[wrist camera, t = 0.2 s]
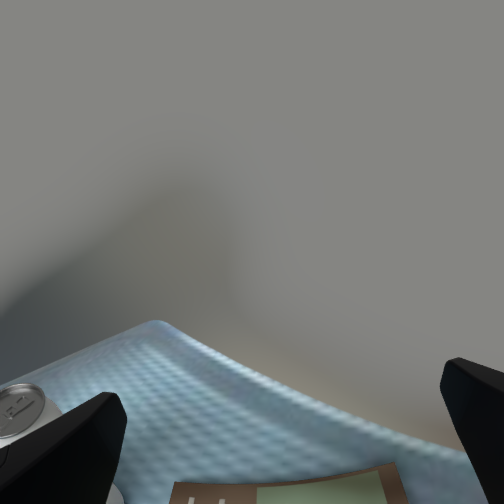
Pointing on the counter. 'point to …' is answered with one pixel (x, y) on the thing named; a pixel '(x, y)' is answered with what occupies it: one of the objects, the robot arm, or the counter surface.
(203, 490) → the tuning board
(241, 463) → the counter surface
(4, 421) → the can
